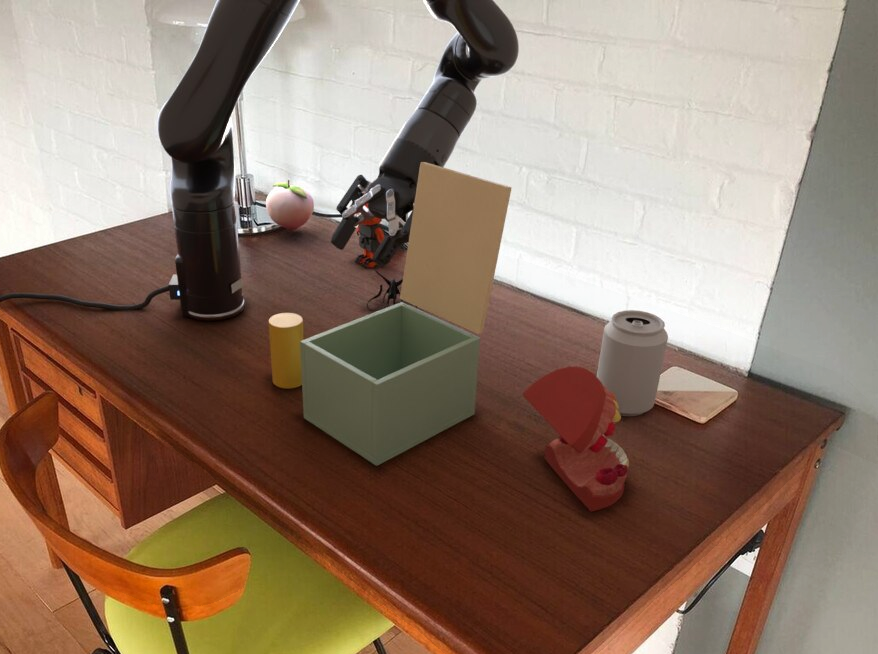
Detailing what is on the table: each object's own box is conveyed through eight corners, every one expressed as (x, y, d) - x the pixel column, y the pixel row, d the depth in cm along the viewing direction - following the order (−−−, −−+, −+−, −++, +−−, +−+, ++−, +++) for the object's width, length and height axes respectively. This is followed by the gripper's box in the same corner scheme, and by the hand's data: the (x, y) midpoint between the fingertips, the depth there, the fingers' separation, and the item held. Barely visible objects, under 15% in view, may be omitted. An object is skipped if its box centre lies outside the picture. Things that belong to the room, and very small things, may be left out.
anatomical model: (659, 491, 89) (632, 388, 81) (597, 528, 89) (564, 429, 80) (603, 440, 98) (573, 343, 90) (546, 474, 97) (511, 379, 89)
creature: (415, 323, 129) (418, 292, 135) (416, 295, 125) (419, 265, 131) (365, 321, 130) (370, 290, 135) (364, 293, 126) (369, 263, 132)
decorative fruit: (257, 232, 161) (254, 181, 155) (284, 220, 166) (281, 171, 161) (295, 242, 156) (293, 190, 151) (322, 229, 162) (320, 179, 157)
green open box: (376, 466, 95) (377, 384, 89) (303, 418, 103) (299, 341, 98) (474, 414, 104) (480, 337, 99) (400, 374, 113) (401, 301, 107)
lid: (507, 187, 91) (512, 187, 92) (420, 161, 100) (425, 161, 101) (478, 334, 98) (483, 333, 99) (399, 298, 107) (404, 298, 108)
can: (654, 394, 108) (671, 311, 102) (651, 424, 102) (669, 337, 96) (595, 385, 110) (609, 302, 104) (589, 413, 104) (603, 328, 98)
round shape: (271, 388, 110) (267, 327, 105) (273, 372, 113) (269, 312, 109) (304, 388, 110) (302, 327, 105) (306, 372, 113) (303, 312, 109)
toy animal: (338, 260, 148) (337, 194, 142) (363, 253, 151) (363, 188, 145) (364, 274, 143) (364, 206, 137) (389, 267, 145) (390, 200, 139)
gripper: (369, 127, 113) (306, 227, 113) (444, 146, 104) (376, 256, 103) (397, 158, 119) (338, 254, 118) (471, 179, 110) (406, 283, 109)
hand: (356, 255), depth 111 cm, fingers open, 8 cm apart
